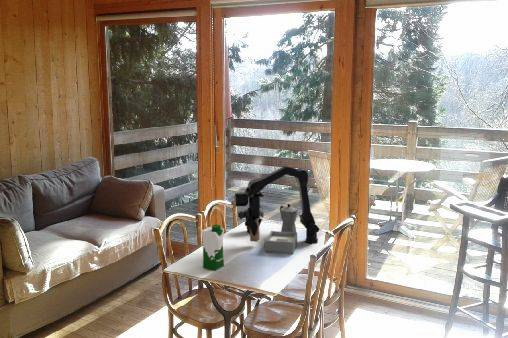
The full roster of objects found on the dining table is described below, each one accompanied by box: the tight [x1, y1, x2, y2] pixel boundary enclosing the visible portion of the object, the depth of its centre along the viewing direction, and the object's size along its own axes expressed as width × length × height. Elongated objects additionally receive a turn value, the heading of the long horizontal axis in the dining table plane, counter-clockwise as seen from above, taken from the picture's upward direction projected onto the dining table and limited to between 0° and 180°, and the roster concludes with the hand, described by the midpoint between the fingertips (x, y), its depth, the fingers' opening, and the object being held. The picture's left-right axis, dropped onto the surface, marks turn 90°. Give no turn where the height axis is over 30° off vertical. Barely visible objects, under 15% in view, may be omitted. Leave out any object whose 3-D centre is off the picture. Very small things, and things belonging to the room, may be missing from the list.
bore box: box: [264, 230, 298, 255], centre depth 244 cm, size 16×14×6 cm
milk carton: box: [200, 224, 225, 272], centre depth 219 cm, size 9×9×20 cm
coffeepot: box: [279, 203, 298, 233], centre depth 263 cm, size 15×9×18 cm, turn 29°
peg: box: [249, 226, 260, 242], centre depth 246 cm, size 4×4×9 cm
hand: (254, 234), depth 246 cm, fingers closed on peg, 4 cm apart
